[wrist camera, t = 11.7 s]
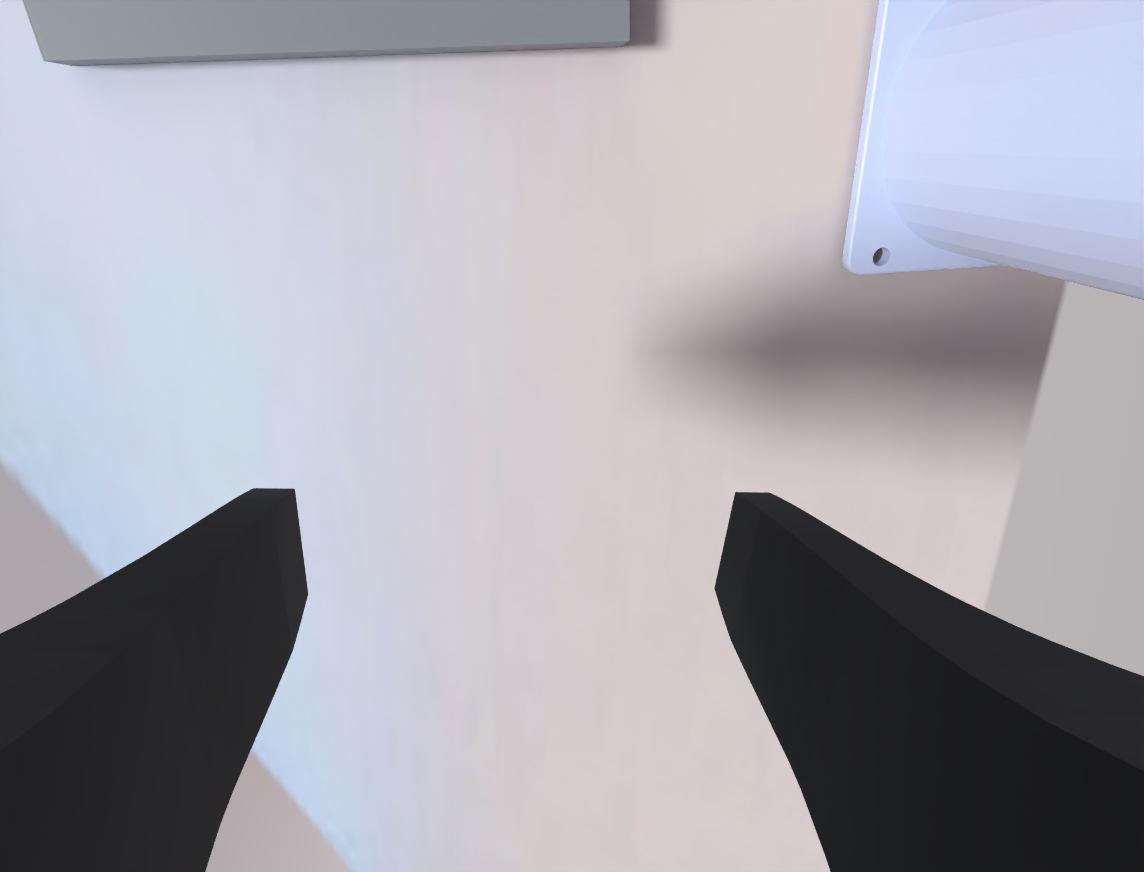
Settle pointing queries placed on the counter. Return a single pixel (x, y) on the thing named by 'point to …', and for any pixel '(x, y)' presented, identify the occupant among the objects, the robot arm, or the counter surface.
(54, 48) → the plate
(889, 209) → the robot arm
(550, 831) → the counter surface
